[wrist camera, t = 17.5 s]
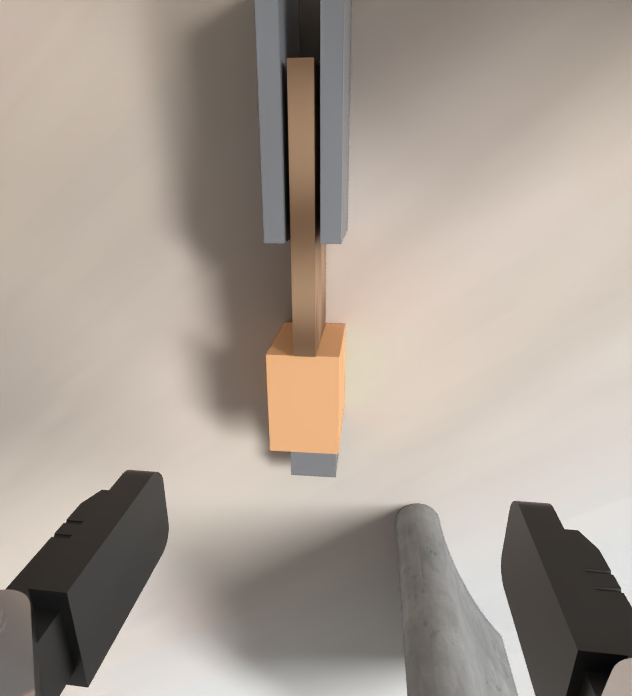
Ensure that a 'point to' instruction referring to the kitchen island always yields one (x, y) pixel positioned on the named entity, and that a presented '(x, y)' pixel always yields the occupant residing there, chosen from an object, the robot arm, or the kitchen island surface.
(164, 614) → the kitchen island surface
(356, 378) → the kitchen island surface
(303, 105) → the gate
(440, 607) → the hip flask
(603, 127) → the kitchen island surface
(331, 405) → the orange block
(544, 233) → the kitchen island surface
